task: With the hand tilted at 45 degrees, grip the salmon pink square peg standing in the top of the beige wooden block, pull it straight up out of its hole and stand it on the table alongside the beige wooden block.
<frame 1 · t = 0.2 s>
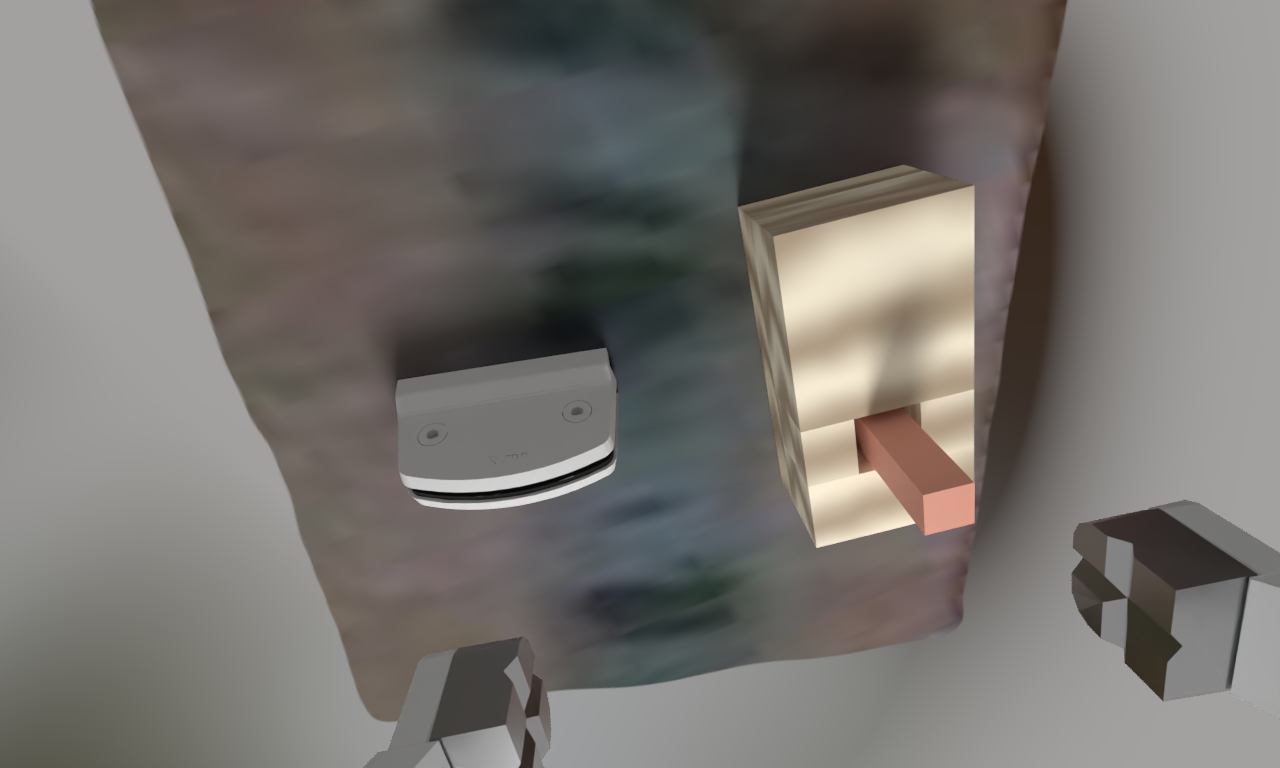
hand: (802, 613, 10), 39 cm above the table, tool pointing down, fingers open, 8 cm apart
hinge: (513, 406, 52), on the table
salmon pink square peg: (855, 399, 51), point 3 cm above the table, touching beige wooden block
beige wooden block: (836, 338, 51), on the table
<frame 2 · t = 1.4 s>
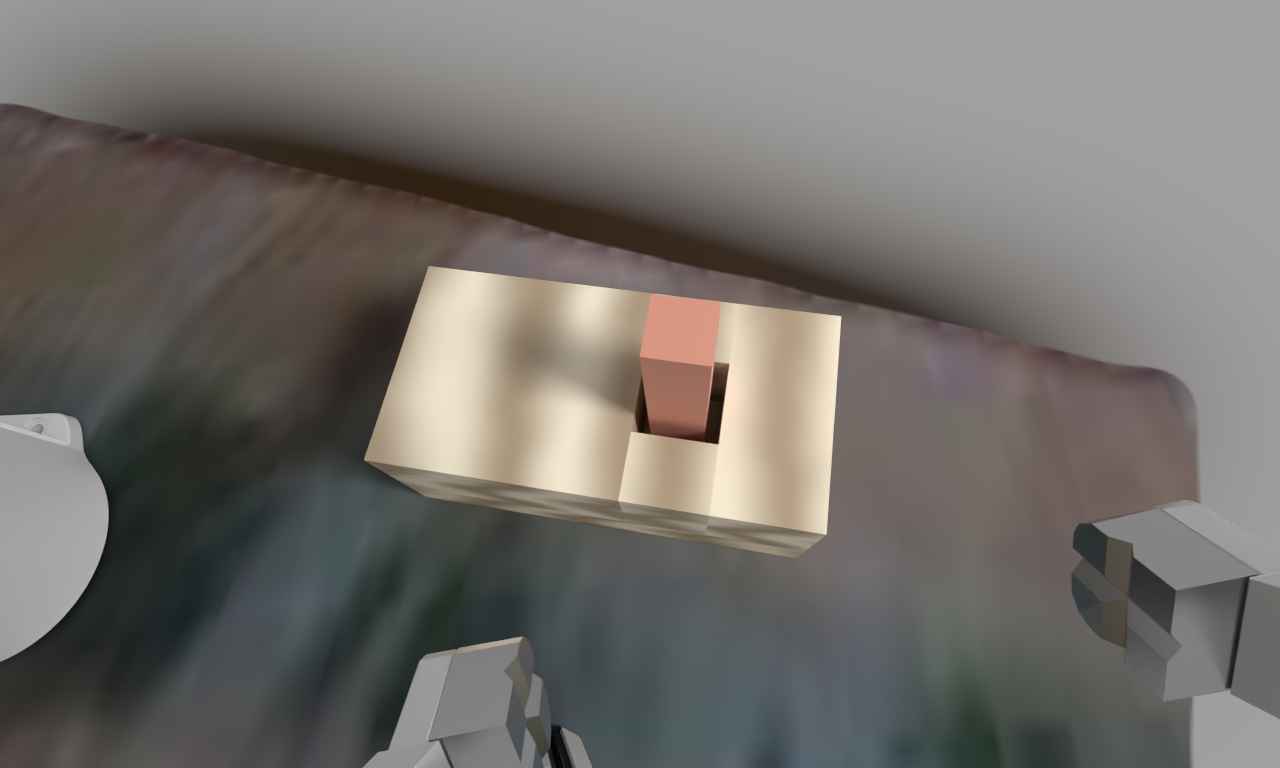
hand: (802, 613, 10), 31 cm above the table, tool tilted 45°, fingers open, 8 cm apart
salmon pink square peg: (681, 431, 40), point 3 cm above the table, touching beige wooden block
beige wooden block: (621, 436, 44), on the table
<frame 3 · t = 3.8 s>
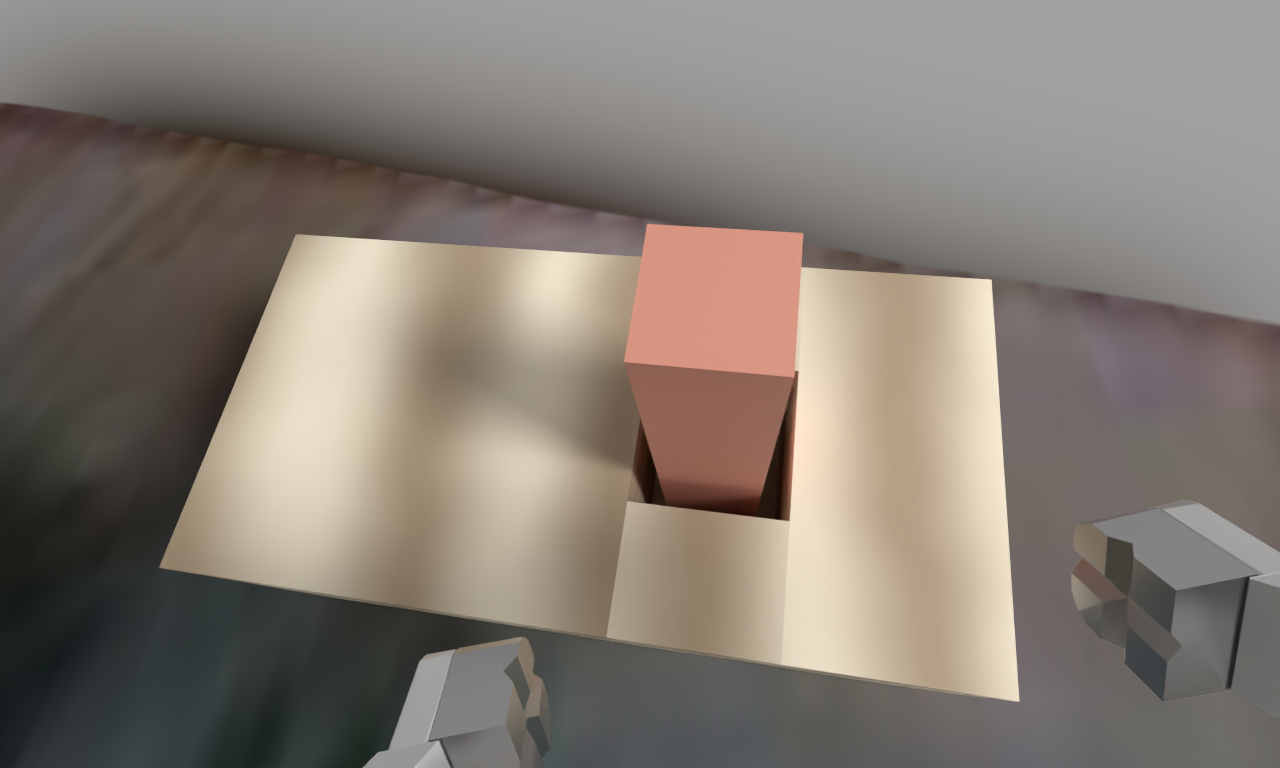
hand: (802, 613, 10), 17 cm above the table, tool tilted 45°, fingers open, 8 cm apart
salmon pink square peg: (715, 484, 25), point 3 cm above the table, touching beige wooden block
beige wooden block: (622, 491, 28), on the table
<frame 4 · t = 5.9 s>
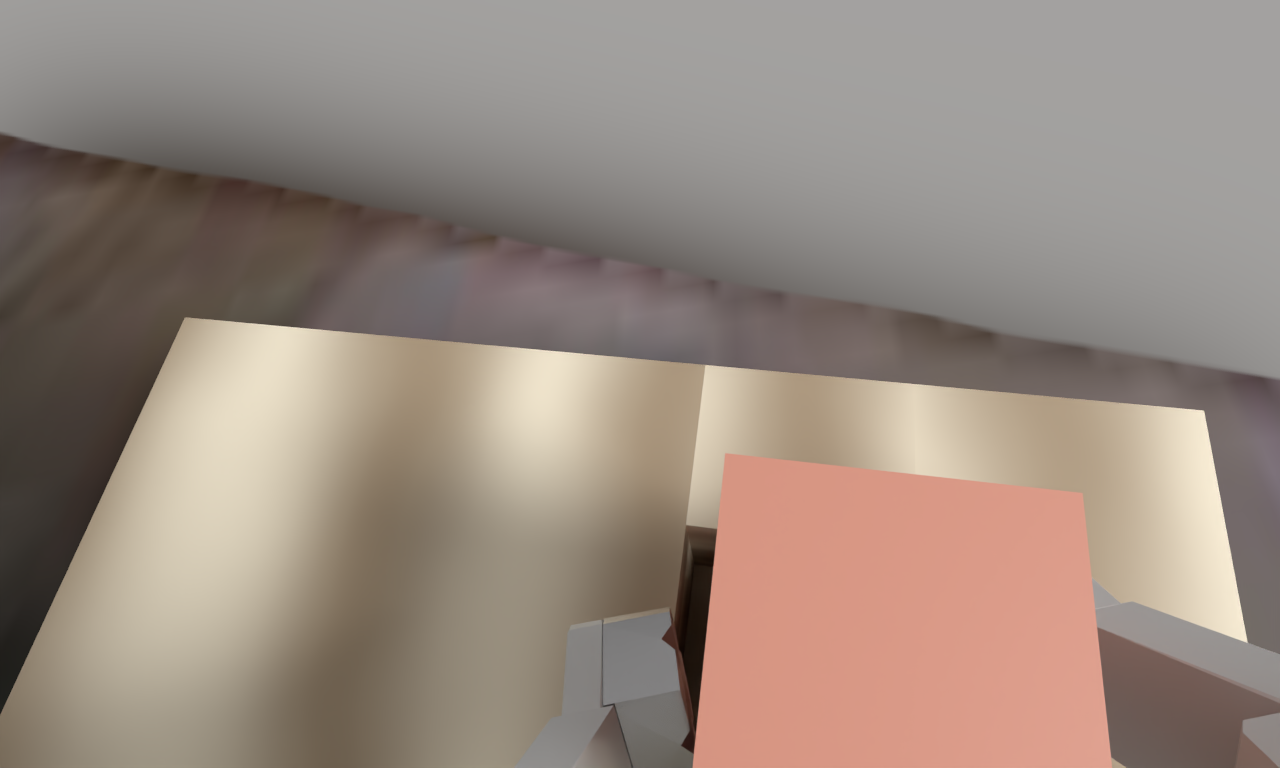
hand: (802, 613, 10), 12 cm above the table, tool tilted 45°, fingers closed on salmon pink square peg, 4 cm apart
salmon pink square peg: (767, 661, 18), point 3 cm above the table, touching gripper, beige wooden block
beige wooden block: (636, 641, 21), on the table
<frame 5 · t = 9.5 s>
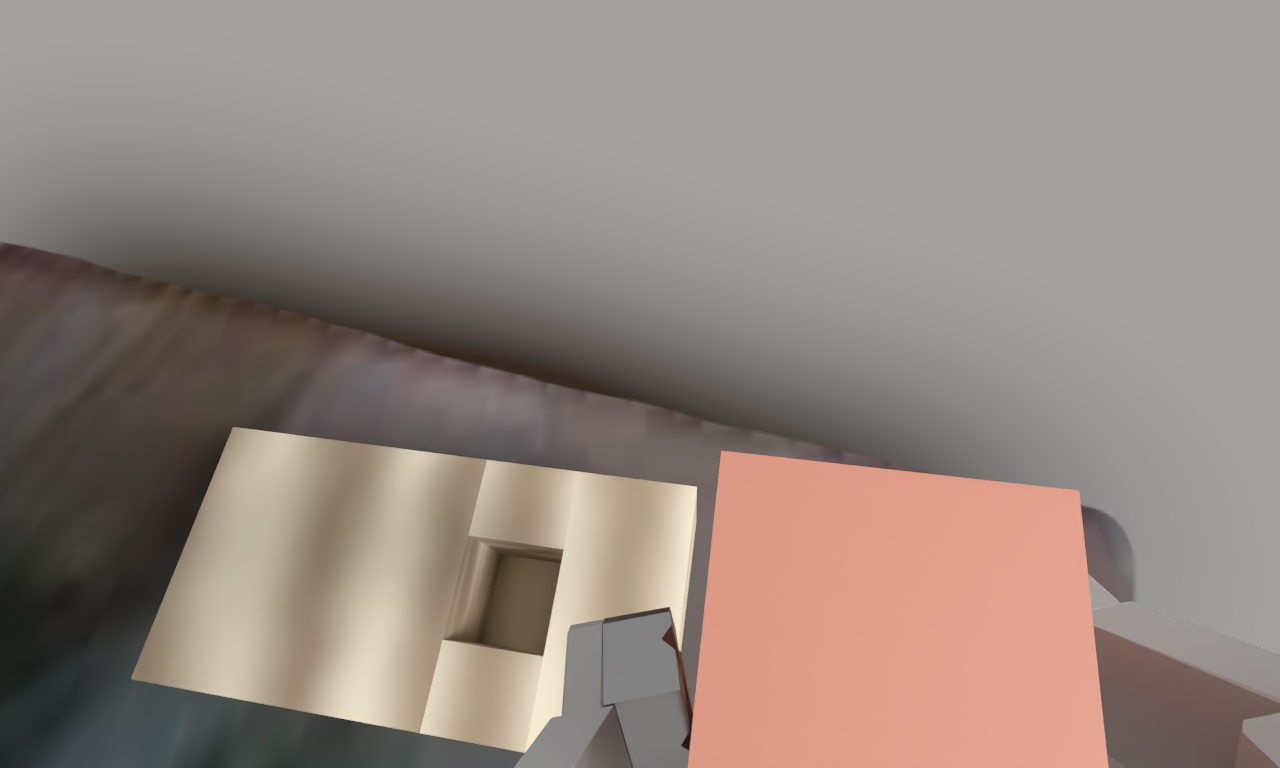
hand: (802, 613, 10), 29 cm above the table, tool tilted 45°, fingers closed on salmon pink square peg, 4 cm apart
salmon pink square peg: (766, 660, 18), point 20 cm above the table, touching gripper
beige wooden block: (479, 597, 38), on the table
when the fingers open (11 cm above the table, at t = 13.4 s): salmon pink square peg drops 2 cm, on the table.
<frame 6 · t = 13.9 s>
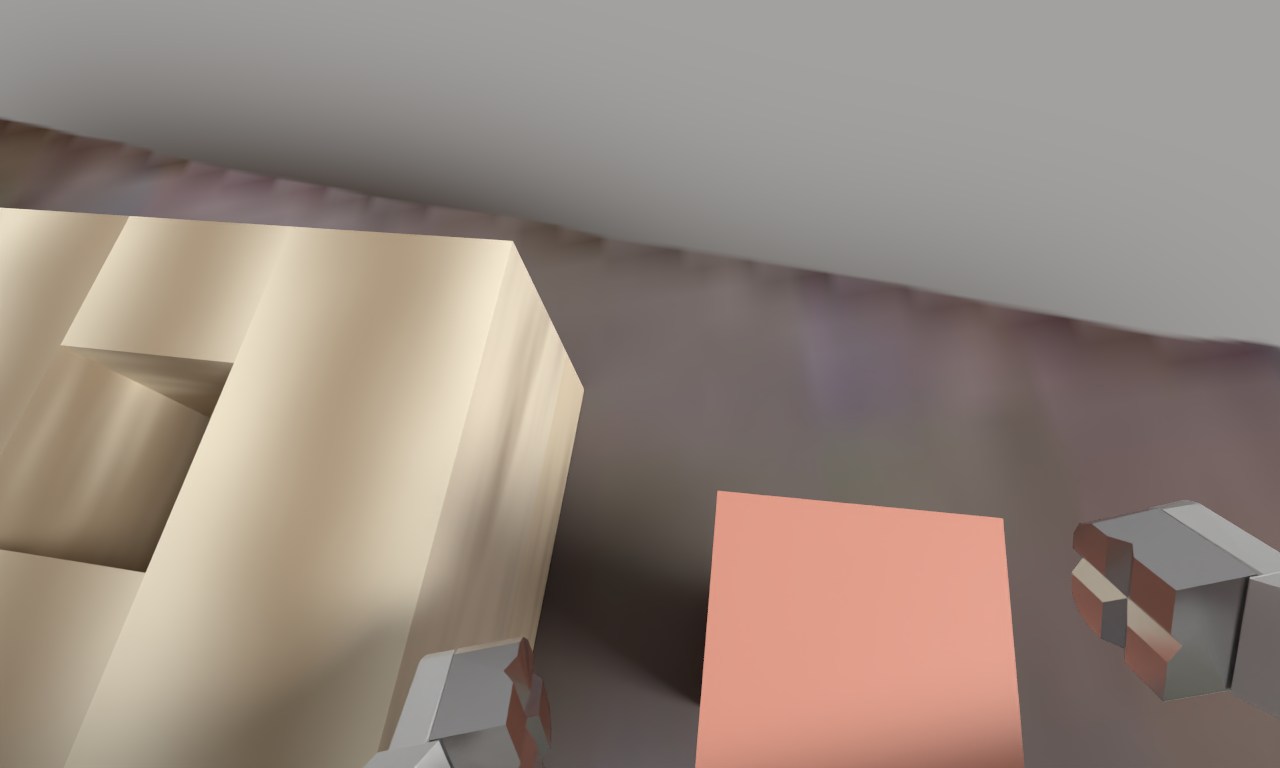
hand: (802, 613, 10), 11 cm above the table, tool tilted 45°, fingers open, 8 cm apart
salmon pink square peg: (763, 661, 19), on the table
beige wooden block: (222, 513, 23), on the table
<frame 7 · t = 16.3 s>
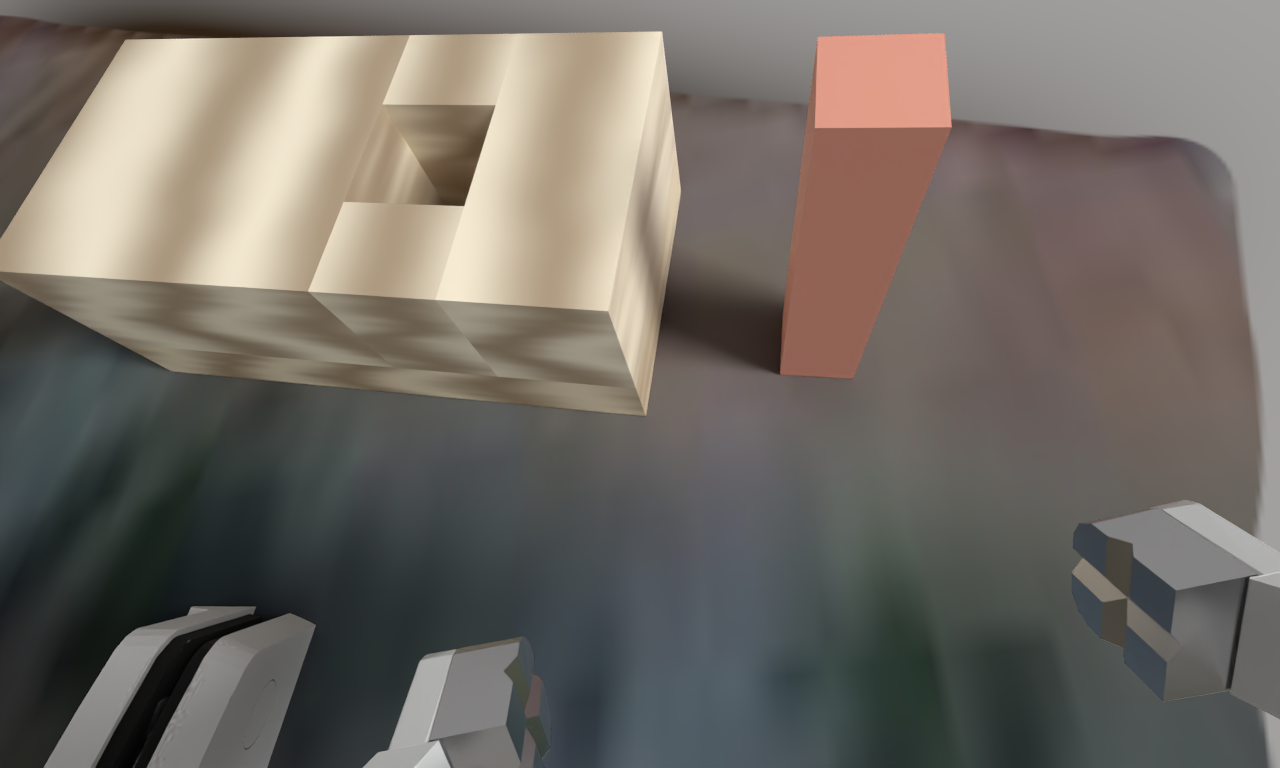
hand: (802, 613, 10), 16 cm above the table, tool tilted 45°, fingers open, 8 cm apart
salmon pink square peg: (816, 345, 28), on the table
beige wooden block: (426, 281, 33), on the table
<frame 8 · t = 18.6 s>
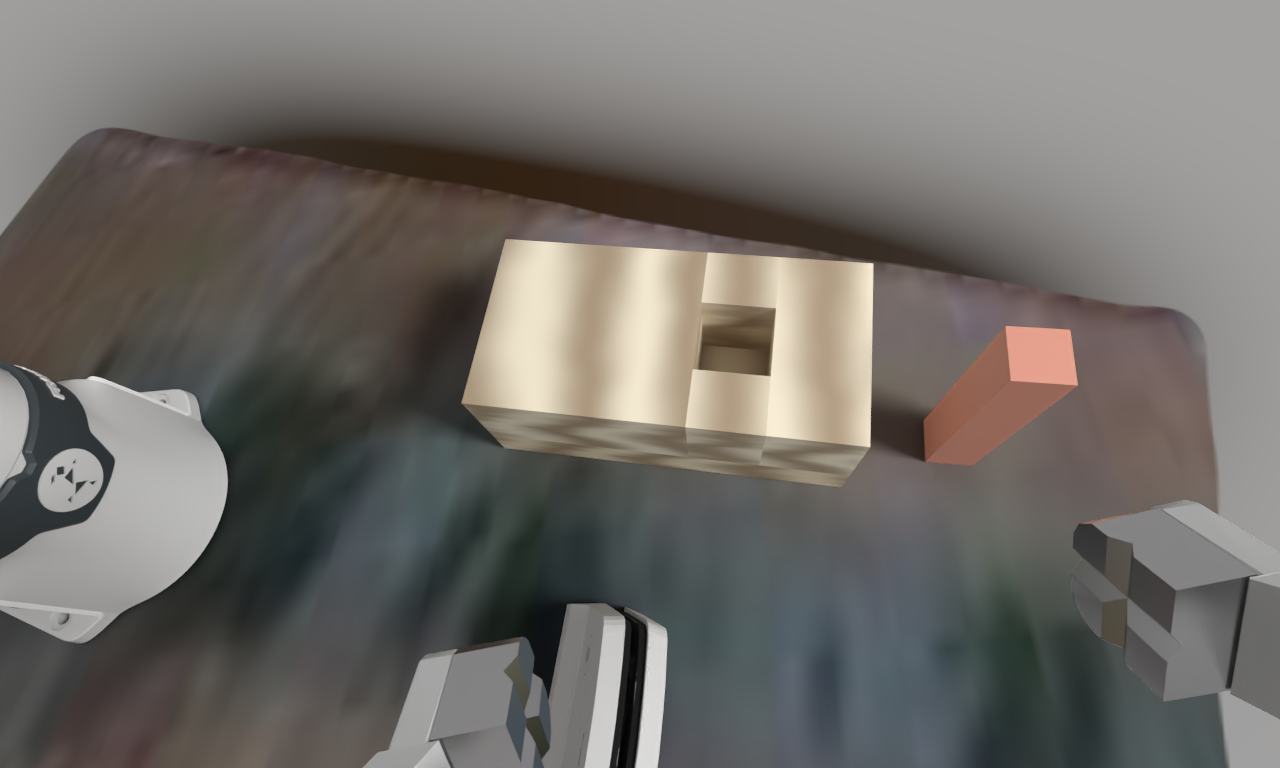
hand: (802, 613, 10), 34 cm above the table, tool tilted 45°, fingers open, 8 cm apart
hinge: (603, 749, 40), on the table
salmon pink square peg: (947, 442, 45), on the table
beige wooden block: (677, 388, 49), on the table
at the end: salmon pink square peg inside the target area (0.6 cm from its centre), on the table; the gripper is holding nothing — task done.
